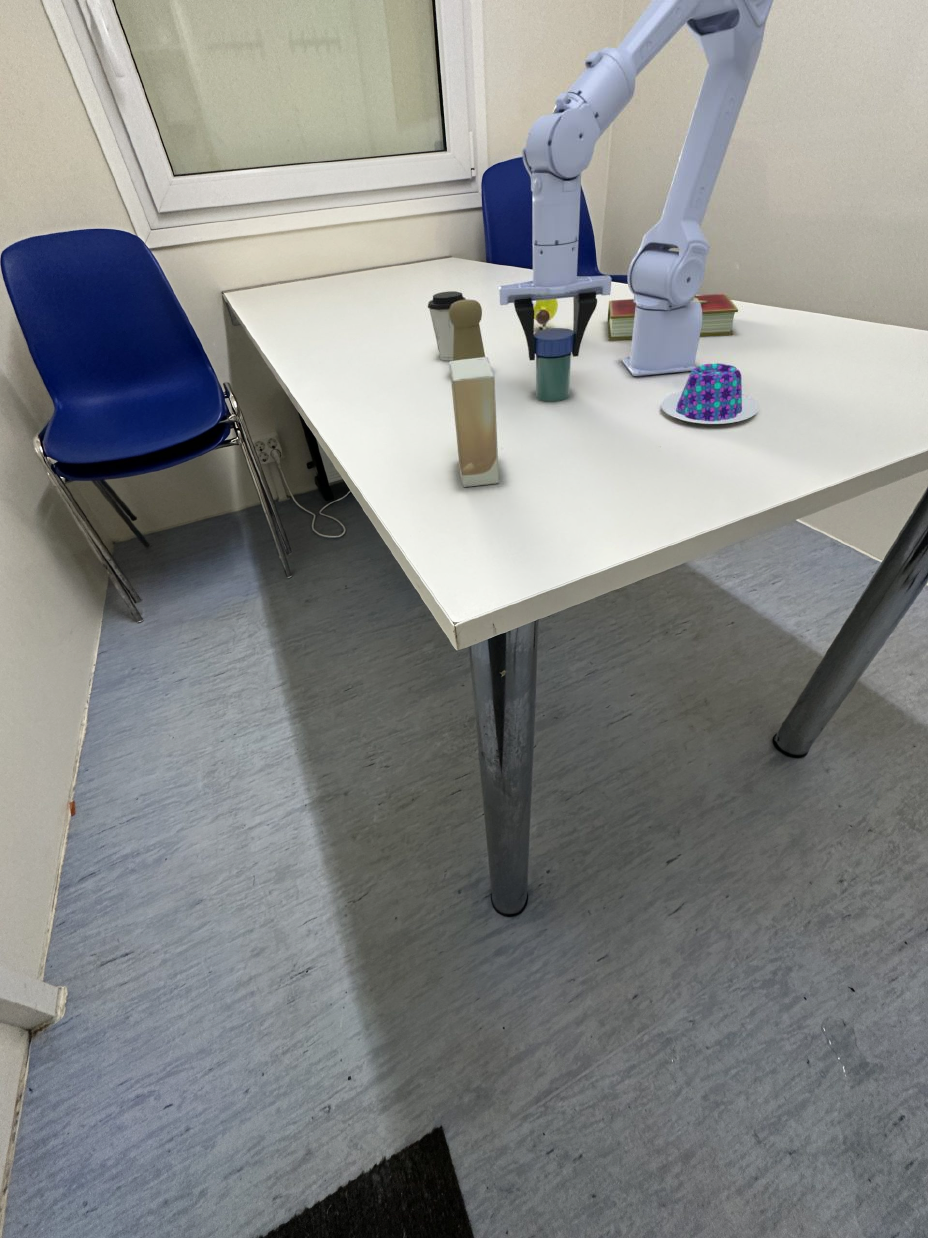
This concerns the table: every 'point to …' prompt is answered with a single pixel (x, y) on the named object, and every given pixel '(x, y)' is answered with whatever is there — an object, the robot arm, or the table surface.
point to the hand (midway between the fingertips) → (552, 356)
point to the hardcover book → (714, 306)
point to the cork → (466, 329)
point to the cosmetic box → (475, 420)
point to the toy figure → (544, 311)
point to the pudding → (711, 397)
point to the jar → (553, 377)
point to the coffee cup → (444, 321)
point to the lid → (554, 342)
